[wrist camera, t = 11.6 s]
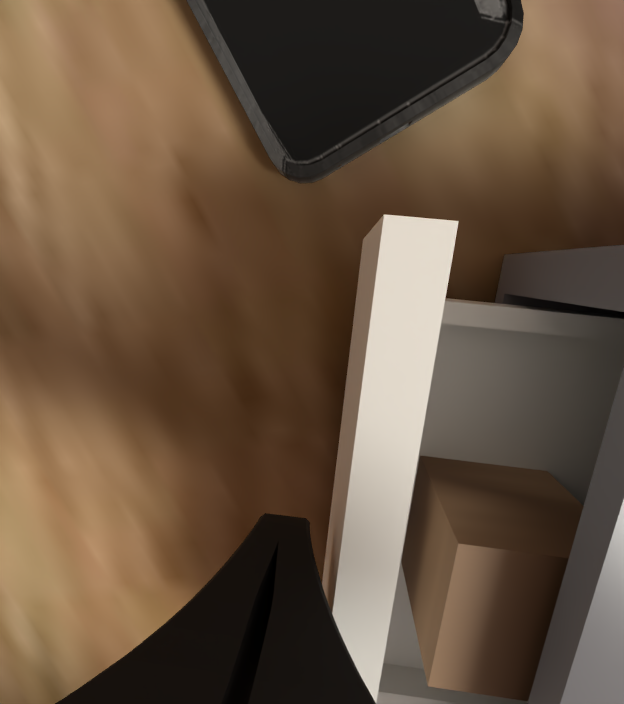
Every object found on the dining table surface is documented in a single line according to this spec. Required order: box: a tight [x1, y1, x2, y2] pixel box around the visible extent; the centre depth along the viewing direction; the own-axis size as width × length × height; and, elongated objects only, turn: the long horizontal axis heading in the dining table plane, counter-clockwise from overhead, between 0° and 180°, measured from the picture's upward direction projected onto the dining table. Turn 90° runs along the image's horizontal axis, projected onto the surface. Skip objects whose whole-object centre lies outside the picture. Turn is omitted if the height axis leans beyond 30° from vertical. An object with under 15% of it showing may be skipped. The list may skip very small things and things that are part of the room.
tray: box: [322, 214, 624, 704], centre depth 10 cm, size 16×17×5 cm
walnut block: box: [401, 456, 584, 701], centre depth 11 cm, size 4×4×4 cm
